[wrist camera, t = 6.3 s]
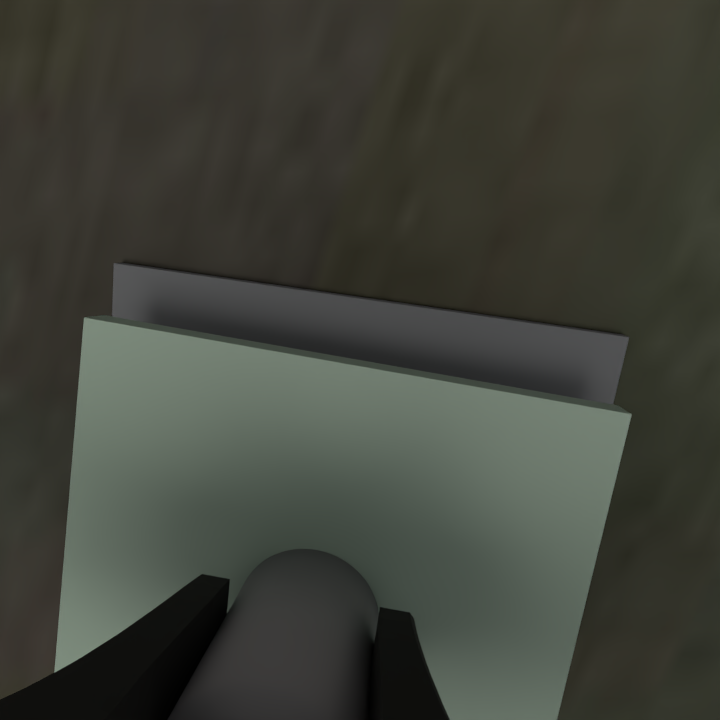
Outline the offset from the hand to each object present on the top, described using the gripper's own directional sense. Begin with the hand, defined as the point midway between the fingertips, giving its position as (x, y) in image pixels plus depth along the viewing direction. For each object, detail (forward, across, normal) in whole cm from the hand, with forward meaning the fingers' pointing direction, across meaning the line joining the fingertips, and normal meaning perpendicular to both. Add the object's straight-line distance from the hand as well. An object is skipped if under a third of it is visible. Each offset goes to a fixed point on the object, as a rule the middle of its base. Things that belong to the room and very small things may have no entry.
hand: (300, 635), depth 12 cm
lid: (+3, 0, 0) cm, 3 cm away
